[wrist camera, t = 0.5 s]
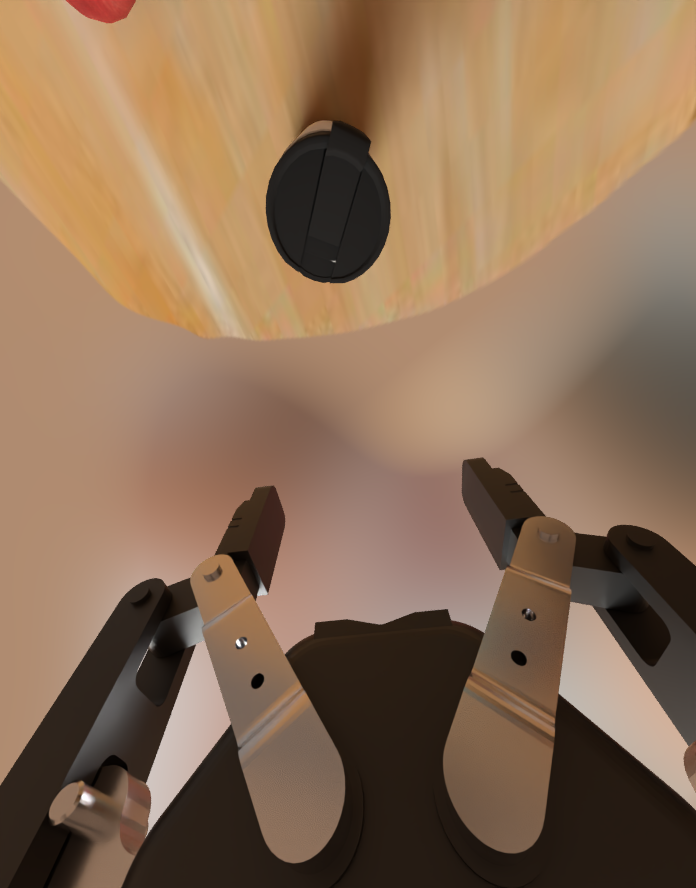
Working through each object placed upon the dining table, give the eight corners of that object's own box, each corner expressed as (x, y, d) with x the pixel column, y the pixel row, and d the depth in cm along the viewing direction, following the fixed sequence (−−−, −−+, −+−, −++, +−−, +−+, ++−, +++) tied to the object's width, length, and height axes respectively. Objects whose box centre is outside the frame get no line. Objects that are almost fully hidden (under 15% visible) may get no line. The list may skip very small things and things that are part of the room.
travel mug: (372, 134, 26) (421, 161, 13) (347, 221, 31) (364, 307, 18) (302, 98, 25) (275, 86, 11) (286, 196, 29) (254, 270, 16)
